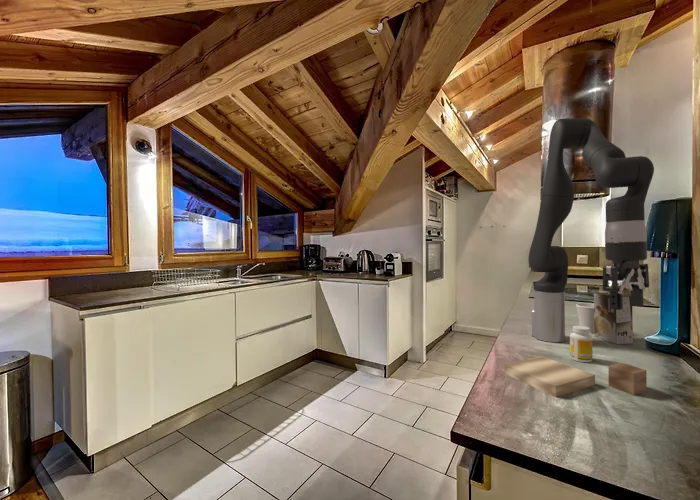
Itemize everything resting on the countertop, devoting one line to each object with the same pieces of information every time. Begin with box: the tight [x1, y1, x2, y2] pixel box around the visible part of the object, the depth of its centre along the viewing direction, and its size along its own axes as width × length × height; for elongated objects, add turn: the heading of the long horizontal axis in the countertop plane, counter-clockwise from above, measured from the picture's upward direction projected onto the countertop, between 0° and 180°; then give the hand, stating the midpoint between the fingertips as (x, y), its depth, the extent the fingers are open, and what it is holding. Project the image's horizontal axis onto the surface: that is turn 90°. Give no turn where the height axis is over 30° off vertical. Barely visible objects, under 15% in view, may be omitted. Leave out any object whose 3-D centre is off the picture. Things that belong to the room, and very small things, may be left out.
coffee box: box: [593, 291, 634, 345], centre depth 108 cm, size 9×6×16 cm
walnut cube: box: [608, 362, 648, 396], centre depth 74 cm, size 5×5×5 cm
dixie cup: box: [575, 302, 595, 334], centre depth 119 cm, size 8×8×10 cm
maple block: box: [504, 355, 596, 398], centre depth 80 cm, size 14×14×3 cm
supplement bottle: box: [569, 325, 593, 363], centre depth 92 cm, size 5×5×10 cm
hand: (626, 307), depth 75 cm, fingers open, 8 cm apart
